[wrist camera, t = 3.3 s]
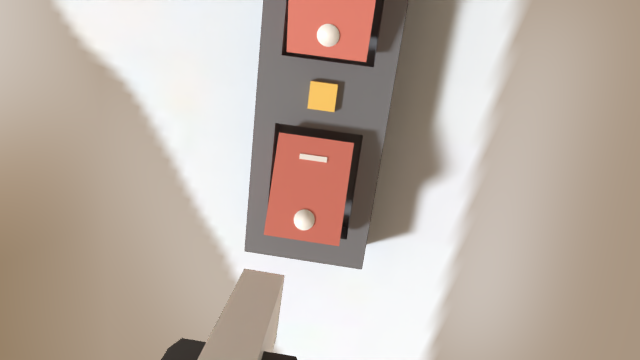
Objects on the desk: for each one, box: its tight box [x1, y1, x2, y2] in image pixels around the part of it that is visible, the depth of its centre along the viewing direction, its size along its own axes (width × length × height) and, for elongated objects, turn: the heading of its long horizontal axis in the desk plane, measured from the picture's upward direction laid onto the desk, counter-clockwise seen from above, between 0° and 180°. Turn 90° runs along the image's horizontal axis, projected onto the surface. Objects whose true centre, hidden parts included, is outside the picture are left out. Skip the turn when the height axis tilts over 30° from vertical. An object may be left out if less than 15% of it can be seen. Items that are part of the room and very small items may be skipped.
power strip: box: [245, 0, 408, 269], centre depth 26 cm, size 26×8×4 cm, turn 173°
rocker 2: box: [264, 133, 354, 246], centre depth 26 cm, size 6×4×2 cm
